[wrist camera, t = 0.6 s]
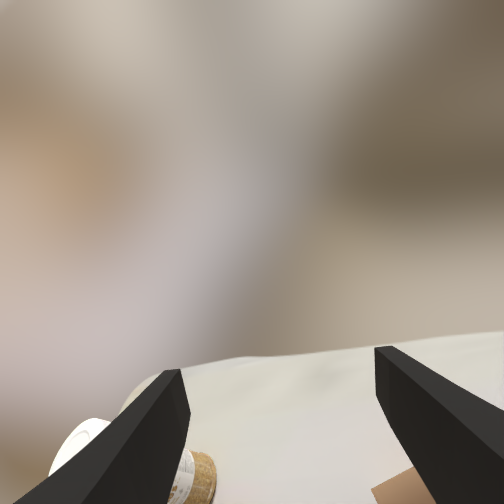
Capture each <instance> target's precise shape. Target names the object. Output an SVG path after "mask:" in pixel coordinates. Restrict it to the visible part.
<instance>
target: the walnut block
mask: <svg viewBox="0 0 504 504" xmlns="http://www.w3.org/2000/svg"><path fill="white" fill-rule="evenodd" d="M371 491H372V493H373V495H374V497H375V499H376V501H377V503H378V504H436V502H435V501H434V499H433V497H432V496H431V494H430V492H429V491H428V489H427V487H426V486H425V484H424V482H423V481H422V479H421V477H420V476H419V474H418V472H417V471H416V469H415V467H412V468H410V469H408V470H406V471H404V472H402V473H400V474H399V475H397V476H395V477H393V478H391V479H389V480H387V481H385V482H384V483H382V484H380V485H378V486H376V487H374V488H372V489H371Z"/></svg>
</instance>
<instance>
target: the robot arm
mask: <svg viewBox="0 0 504 504" xmlns="http://www.w3.org/2000/svg"><path fill="white" fill-rule="evenodd" d="M374 351H375V384H376V396H377V399H378V401H379V403H380V405H381V408H382V410H383V412H384V414H385V416H386V418H387V420H388V423H389V425H390V427H391V428H392V430H393V432H394V433H395V435H396V437H397V439H398V440H399V442H400V444H401V445H402V447H403V449H404V450H405V452H406V454H407V455H408V457H409V459H410V460H411V462H412V464H413V465H414V467H415V469H416V471H417V472H418V474H419V476H420V477H421V479H422V481H423V482H424V484H425V486H426V487H427V489H428V491H429V492H430V494H431V496H432V497H433V499H434V501H435V502H436V504H504V411H503V410H501V409H499V408H498V407H496V406H494V405H492V404H490V403H488V402H486V401H485V400H483V399H481V398H479V397H477V396H475V395H474V394H472V393H470V392H468V391H467V390H465V389H463V388H461V387H460V386H458V385H456V384H454V383H453V382H451V381H449V380H448V379H446V378H444V377H443V376H441V375H439V374H438V373H436V372H434V371H433V370H431V369H429V368H428V367H426V366H424V365H423V364H421V363H420V362H418V361H416V360H415V359H413V358H412V357H410V356H408V355H407V354H405V353H403V352H402V351H400V350H398V349H397V348H395V347H393V346H384V347H375V348H374ZM190 415H191V412H190V408H189V404H188V399H187V395H186V391H185V387H184V383H183V379H182V374H181V370H180V369H174V370H165V371H163V372H162V373H161V374H160V375H159V376H158V377H157V378H156V379H155V380H154V381H153V382H152V383H151V384H150V385H149V386H148V387H147V388H146V389H145V390H144V391H143V392H142V393H141V394H140V395H139V396H138V397H137V398H136V399H135V400H134V401H133V402H132V403H131V404H130V405H129V406H128V407H127V408H126V409H125V410H124V411H123V412H122V413H121V414H120V415H119V416H118V417H117V418H115V419H114V420H113V421H112V422H111V423H110V424H109V425H108V426H107V427H106V428H105V429H104V430H102V431H101V432H100V433H99V434H98V435H97V436H96V437H95V438H94V439H93V440H92V441H90V442H89V443H88V444H87V445H86V446H85V447H84V448H83V449H81V450H80V451H79V452H78V453H77V454H76V455H74V456H73V457H72V458H71V459H70V460H69V461H67V462H66V463H65V464H64V465H62V466H61V467H60V468H59V469H58V470H56V471H55V472H54V473H53V474H51V475H50V476H49V477H48V478H47V479H45V480H44V481H43V482H41V483H40V484H39V485H38V486H36V487H35V488H34V489H32V490H31V491H29V492H28V493H27V494H25V495H24V496H23V497H22V498H20V499H19V500H17V501H16V502H15V503H13V504H167V503H168V499H169V496H170V493H171V489H172V486H173V483H174V480H175V476H176V473H177V470H178V466H179V463H180V460H181V456H182V453H183V450H184V446H185V442H186V437H187V432H188V427H189V421H190Z"/></svg>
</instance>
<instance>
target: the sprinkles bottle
mask: <svg viewBox="0 0 504 504" xmlns="http://www.w3.org/2000/svg"><path fill="white" fill-rule="evenodd" d="M110 423H111V422H108V421H105V420H101V419H97V418H92V419H89V420H87V421H85V422H83V423H82V424H80V425H79V426H78V427H77V428H76V429H75V430H74V431H73V432H72V433H71V434H70V436H69V437H68V438H67V440H66V441H65V442H64V444H63V445H62V447H61V449H60V450H59V452H58V454H57V456H56V458H55V460H54V462H53V464H52V467H51V469H50V473H49V476H50V475H51V474H53V473H54V472H55V471H56V470H58V469H59V468H60V467H61V466H62V465H64V464H65V463H66V462H67V461H69V460H70V459H71V458H72V457H73V456H74V455H76V454H77V453H78V452H79V451H80V450H81V449H83V448H84V447H85V446H86V445H87V444H88V443H89V442H90V441H92V440H93V439H94V438H95V437H96V436H97V435H98V434H99V433H100V432H101V431H102V430H104V429H105V428H106V427H107V426H108V425H109V424H110ZM49 476H48V477H49ZM215 485H216V468H215V465H214V463H213V460H212V459H211V457H210V456H209V455H207V454H204V453H197V452H193V451H190V450H188V449H186V448H184V450H183V453H182V456H181V460H180V463H179V466H178V470H177V473H176V476H175V480H174V483H173V486H172V489H171V493H170V496H169V499H168V503H167V504H209V503H210V501H211V499H212V497H213V494H214V490H215Z"/></svg>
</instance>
